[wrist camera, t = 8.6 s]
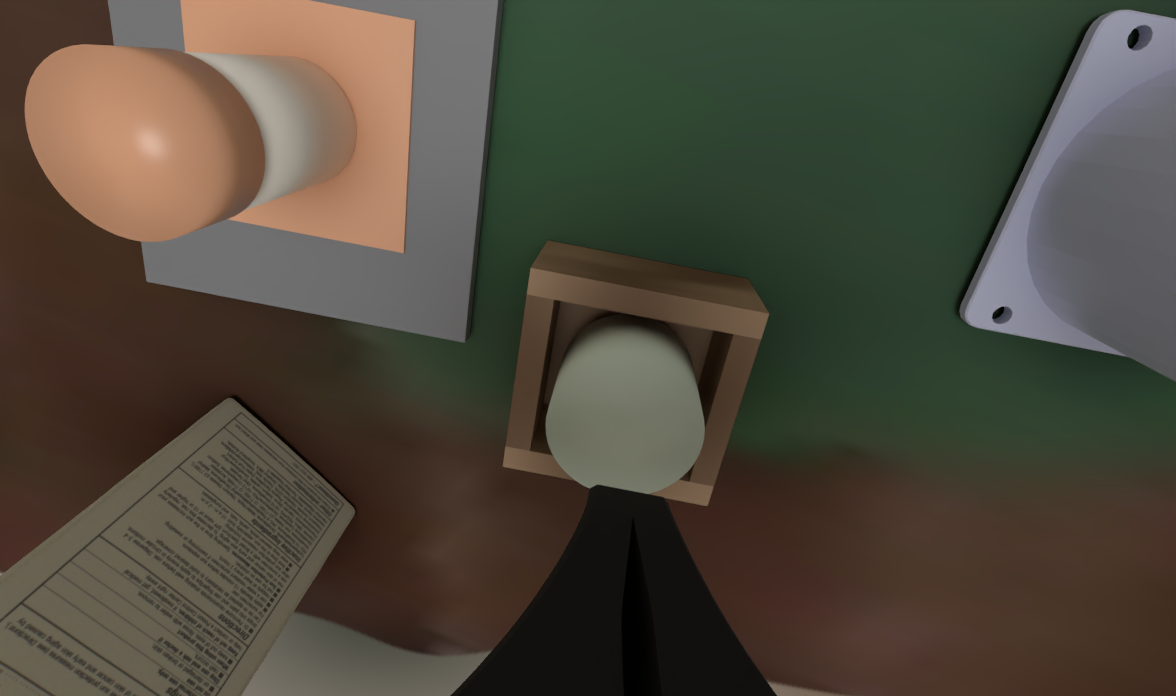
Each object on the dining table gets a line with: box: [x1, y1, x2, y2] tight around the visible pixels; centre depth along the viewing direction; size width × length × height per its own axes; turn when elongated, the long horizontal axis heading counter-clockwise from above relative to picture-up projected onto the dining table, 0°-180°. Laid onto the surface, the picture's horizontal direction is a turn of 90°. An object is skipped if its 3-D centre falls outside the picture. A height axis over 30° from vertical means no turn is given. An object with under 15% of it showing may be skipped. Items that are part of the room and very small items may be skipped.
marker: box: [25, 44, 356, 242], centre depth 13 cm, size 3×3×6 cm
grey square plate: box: [108, 0, 504, 343], centre depth 16 cm, size 10×11×1 cm
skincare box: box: [0, 398, 355, 696], centre depth 16 cm, size 6×4×12 cm
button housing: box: [503, 240, 769, 506], centre depth 17 cm, size 6×6×3 cm
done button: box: [546, 314, 705, 494], centre depth 15 cm, size 4×4×3 cm
